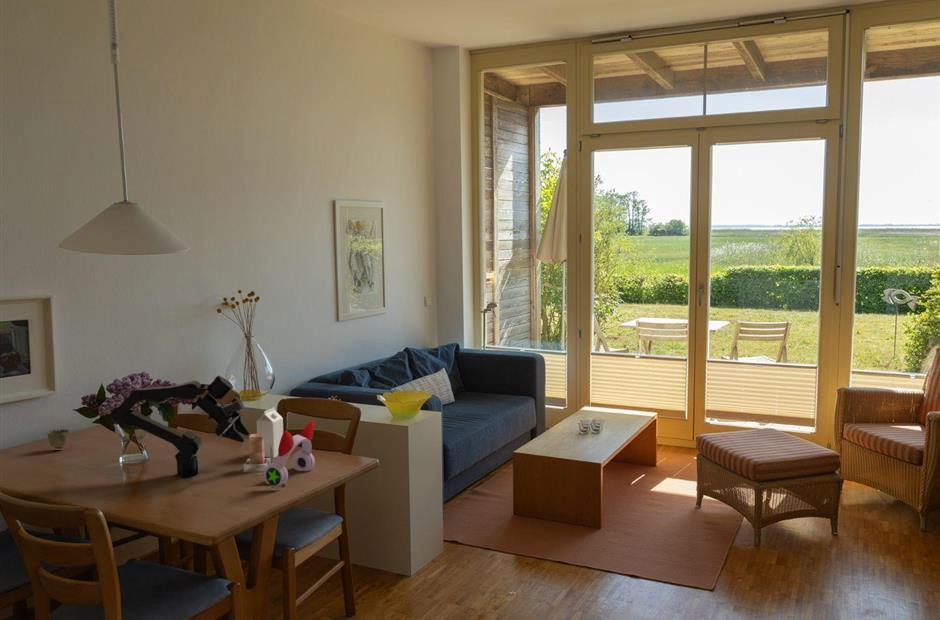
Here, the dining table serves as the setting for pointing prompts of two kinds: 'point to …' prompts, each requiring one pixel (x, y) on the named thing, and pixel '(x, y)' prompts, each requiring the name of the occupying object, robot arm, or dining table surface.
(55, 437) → the cup
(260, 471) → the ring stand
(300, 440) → the headphones
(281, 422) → the milk carton
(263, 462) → the peg
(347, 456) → the dining table surface
